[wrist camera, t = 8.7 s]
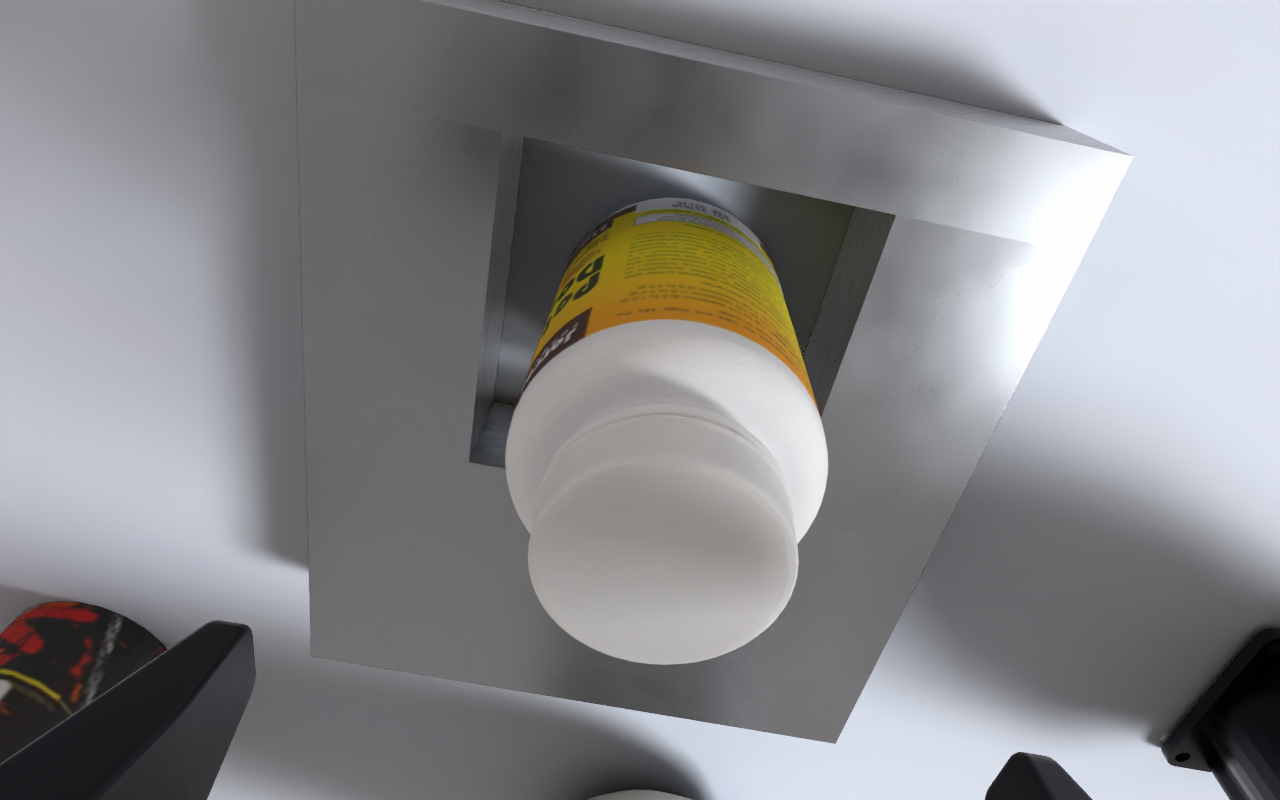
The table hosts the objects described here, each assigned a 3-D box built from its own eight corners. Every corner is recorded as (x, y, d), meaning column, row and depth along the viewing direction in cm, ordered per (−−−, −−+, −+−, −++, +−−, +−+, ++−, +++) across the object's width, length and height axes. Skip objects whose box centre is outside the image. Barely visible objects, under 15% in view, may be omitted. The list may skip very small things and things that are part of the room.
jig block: (819, 665, 26) (835, 743, 24) (348, 584, 25) (311, 656, 23) (1065, 126, 18) (1133, 156, 15) (353, -32, 17) (293, -28, 14)
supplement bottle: (594, 159, 18) (518, 354, 10) (813, 230, 19) (932, 474, 10) (539, 359, 21) (439, 655, 12) (732, 416, 22) (769, 736, 13)
